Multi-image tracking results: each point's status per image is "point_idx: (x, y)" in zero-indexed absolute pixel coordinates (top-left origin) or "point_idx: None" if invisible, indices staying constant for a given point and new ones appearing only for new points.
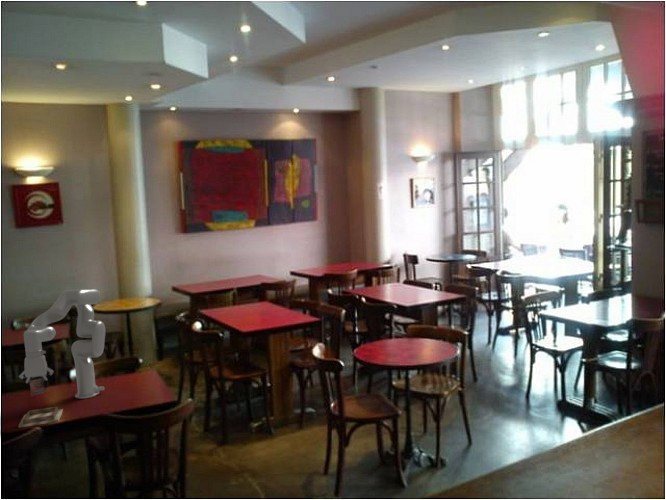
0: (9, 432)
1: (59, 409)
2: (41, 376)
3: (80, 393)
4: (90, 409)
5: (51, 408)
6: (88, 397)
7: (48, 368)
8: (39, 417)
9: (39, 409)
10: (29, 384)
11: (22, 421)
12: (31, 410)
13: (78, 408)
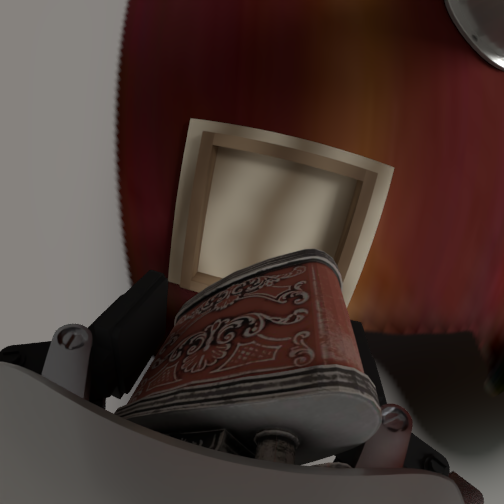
0: None
1: (379, 162)
2: (324, 394)
3: (478, 25)
4: (479, 246)
5: (340, 173)
6: (496, 67)
7: None
8: None
9: (268, 147)
10: (131, 384)
11: (180, 234)
12: (220, 134)
13: (453, 185)
